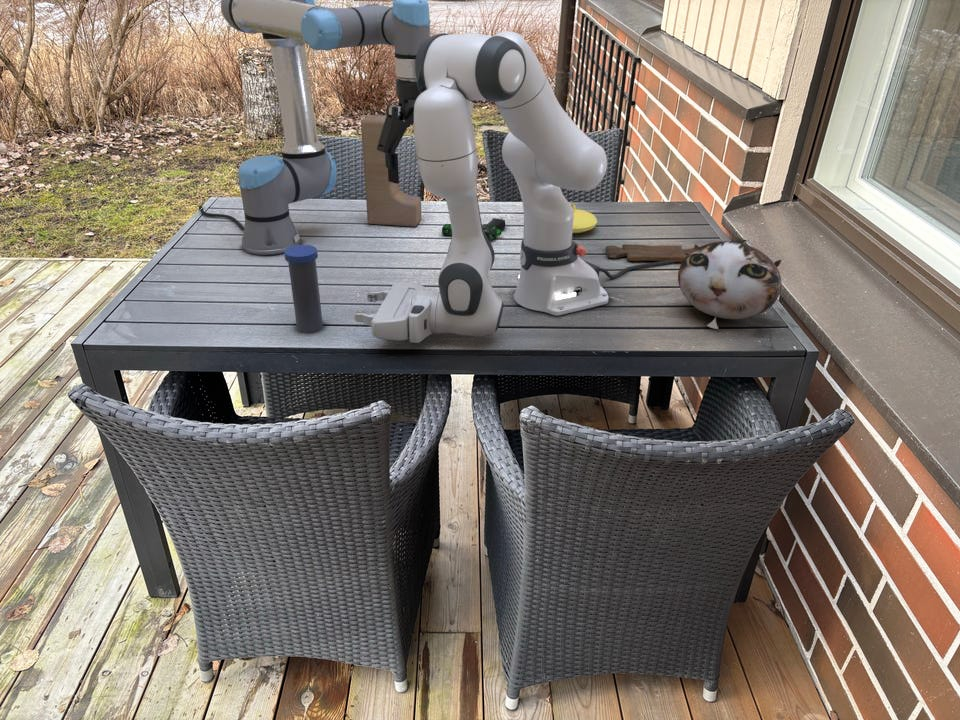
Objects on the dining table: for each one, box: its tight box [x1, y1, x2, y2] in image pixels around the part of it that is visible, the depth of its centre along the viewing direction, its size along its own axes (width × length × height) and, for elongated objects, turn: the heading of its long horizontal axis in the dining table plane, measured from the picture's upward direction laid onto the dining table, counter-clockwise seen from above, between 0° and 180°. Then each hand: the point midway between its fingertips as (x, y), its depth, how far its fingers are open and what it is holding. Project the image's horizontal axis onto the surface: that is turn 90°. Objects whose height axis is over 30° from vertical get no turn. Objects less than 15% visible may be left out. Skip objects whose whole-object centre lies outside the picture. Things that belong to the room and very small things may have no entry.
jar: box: [287, 259, 324, 334], centre depth 152 cm, size 6×6×17 cm
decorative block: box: [360, 114, 423, 228], centre depth 206 cm, size 8×15×30 cm, turn 82°
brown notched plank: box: [605, 243, 694, 263], centre depth 194 cm, size 26×2×10 cm
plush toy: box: [677, 240, 783, 330], centre depth 159 cm, size 22×18×20 cm
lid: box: [283, 244, 319, 264], centre depth 148 cm, size 7×7×2 cm
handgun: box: [441, 217, 506, 242], centre depth 207 cm, size 16×3×15 cm
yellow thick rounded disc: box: [570, 203, 598, 234], centre depth 209 cm, size 16×16×7 cm
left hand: (416, 176), depth 165 cm, fingers open, 13 cm apart
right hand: (362, 306), depth 152 cm, fingers open, 8 cm apart
